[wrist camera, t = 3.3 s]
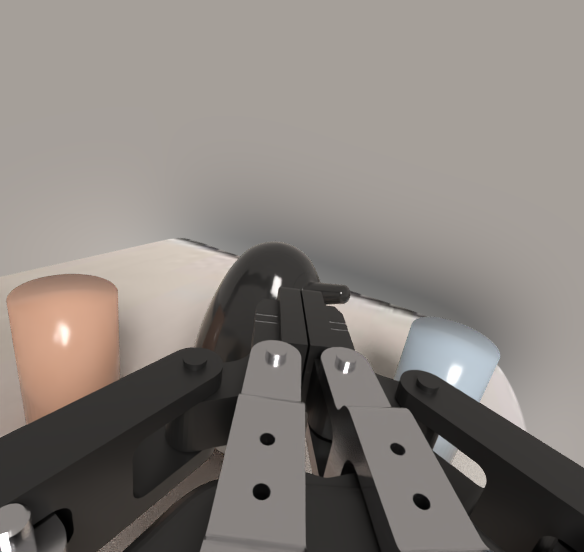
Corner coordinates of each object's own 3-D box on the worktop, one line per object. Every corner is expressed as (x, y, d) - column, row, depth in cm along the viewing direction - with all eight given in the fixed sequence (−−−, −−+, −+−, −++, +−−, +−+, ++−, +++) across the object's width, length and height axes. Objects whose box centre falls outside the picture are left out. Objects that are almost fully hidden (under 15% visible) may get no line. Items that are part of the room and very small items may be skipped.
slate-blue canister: (362, 434, 30) (395, 329, 26) (401, 405, 34) (435, 310, 30) (428, 490, 27) (479, 377, 23) (464, 450, 31) (512, 348, 27)
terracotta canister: (18, 405, 28) (-3, 283, 24) (104, 377, 32) (99, 268, 28) (38, 463, 24) (18, 329, 20) (133, 422, 28) (132, 304, 24)
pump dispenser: (253, 523, 23) (294, 300, 17) (155, 423, 28) (159, 229, 22) (343, 434, 30) (394, 258, 24) (252, 368, 36) (275, 213, 30)
